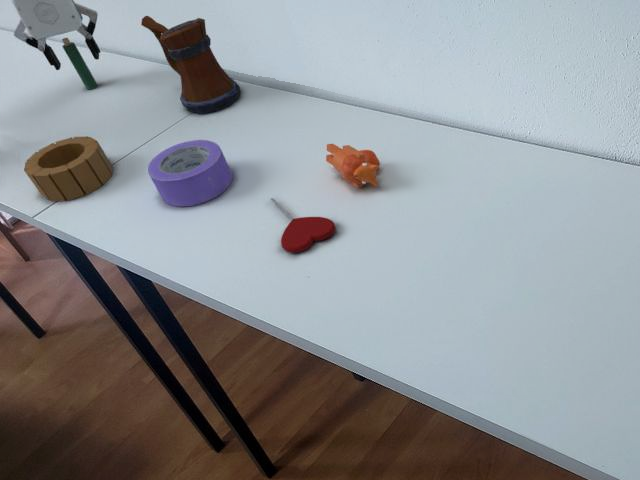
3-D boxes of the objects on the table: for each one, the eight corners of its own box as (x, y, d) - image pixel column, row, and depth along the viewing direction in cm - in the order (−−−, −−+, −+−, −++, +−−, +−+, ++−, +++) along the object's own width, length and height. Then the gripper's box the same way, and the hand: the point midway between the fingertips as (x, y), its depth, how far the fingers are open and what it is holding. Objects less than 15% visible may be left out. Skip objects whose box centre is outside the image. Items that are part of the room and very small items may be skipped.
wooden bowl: (39, 209, 106) (20, 183, 103) (45, 174, 114) (28, 149, 111) (112, 187, 108) (96, 161, 104) (113, 154, 116) (98, 129, 112)
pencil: (86, 90, 137) (58, 42, 130) (87, 86, 139) (59, 38, 132) (97, 87, 138) (70, 39, 130) (98, 83, 139) (71, 35, 132)
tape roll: (246, 180, 104) (234, 153, 101) (183, 216, 99) (168, 188, 96) (210, 158, 111) (198, 132, 107) (150, 191, 106) (134, 164, 102)
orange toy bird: (314, 138, 99) (358, 164, 92) (354, 133, 103) (399, 157, 97) (315, 170, 102) (357, 197, 95) (354, 163, 106) (397, 188, 100)
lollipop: (249, 213, 97) (291, 258, 89) (246, 208, 97) (289, 252, 88) (295, 190, 100) (341, 231, 91) (294, 185, 99) (339, 226, 91)
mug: (154, 101, 129) (115, 24, 118) (199, 76, 135) (166, 1, 124) (207, 120, 121) (170, 38, 110) (253, 92, 126) (222, 13, 115)
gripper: (-26, -13, 118) (34, 80, 131) (70, -37, 120) (119, 57, 133) (-20, -25, 123) (37, 67, 136) (72, -47, 125) (120, 45, 138)
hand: (78, 61), depth 134 cm, fingers open, 7 cm apart
